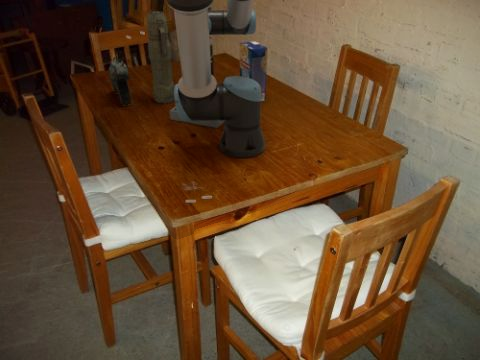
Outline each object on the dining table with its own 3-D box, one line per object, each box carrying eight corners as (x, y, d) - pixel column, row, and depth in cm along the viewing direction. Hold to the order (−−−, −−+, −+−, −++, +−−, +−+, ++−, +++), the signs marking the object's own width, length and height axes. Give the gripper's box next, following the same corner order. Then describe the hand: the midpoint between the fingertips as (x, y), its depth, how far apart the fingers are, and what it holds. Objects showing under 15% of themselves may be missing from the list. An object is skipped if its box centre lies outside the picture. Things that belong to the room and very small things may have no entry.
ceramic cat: (134, 106, 169) (127, 57, 158) (118, 109, 167) (110, 59, 156) (124, 90, 184) (117, 44, 174) (109, 92, 182) (101, 46, 171)
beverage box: (253, 91, 183) (254, 41, 171) (265, 100, 175) (267, 47, 163) (239, 94, 181) (239, 42, 169) (251, 103, 172) (251, 49, 160)
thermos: (162, 106, 169) (152, 16, 150) (148, 98, 177) (138, 11, 158) (181, 101, 174) (174, 13, 155) (167, 93, 181) (158, 8, 162)
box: (217, 128, 153) (217, 119, 151) (170, 119, 159) (169, 110, 157) (238, 108, 168) (238, 99, 166) (194, 100, 174) (194, 92, 172)
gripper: (199, 52, 140) (202, 115, 153) (222, 39, 155) (223, 98, 167) (180, 50, 143) (184, 112, 156) (204, 37, 157) (206, 95, 170)
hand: (204, 105), depth 161 cm, fingers open, 5 cm apart
